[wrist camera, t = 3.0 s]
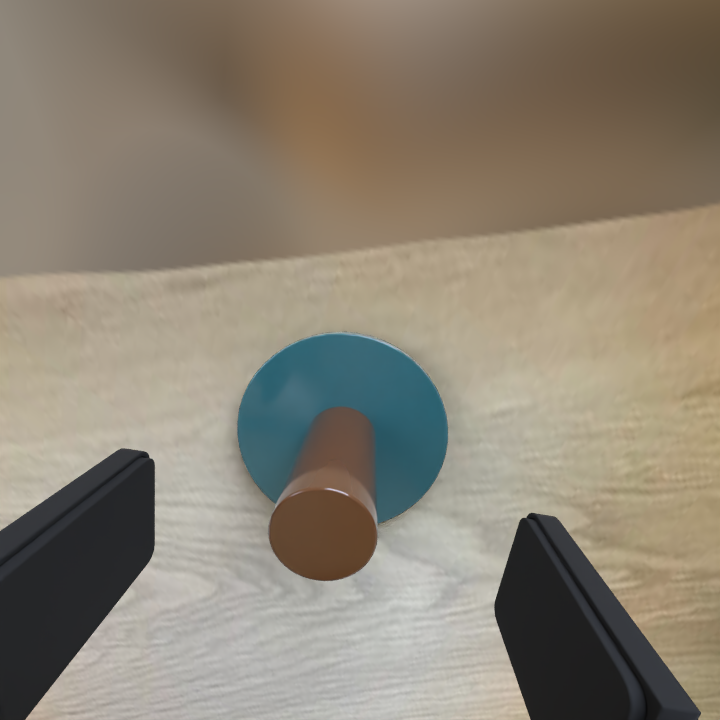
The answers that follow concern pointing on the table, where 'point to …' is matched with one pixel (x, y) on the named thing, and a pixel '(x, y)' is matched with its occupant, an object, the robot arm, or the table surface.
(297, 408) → the lid
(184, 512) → the table surface
